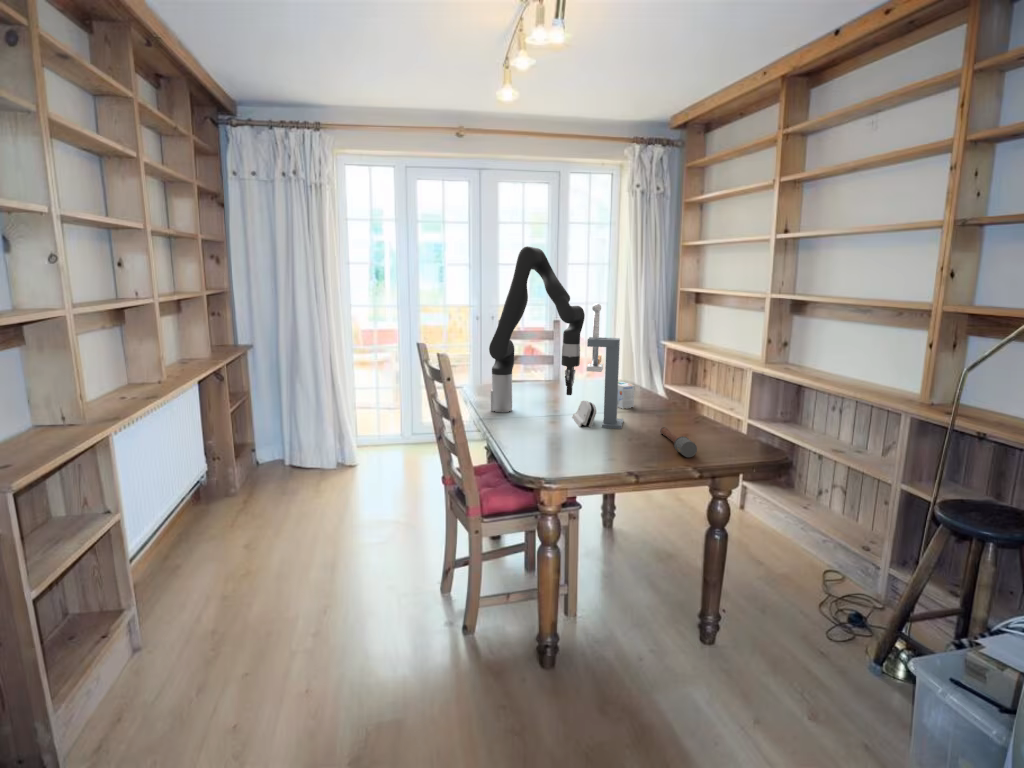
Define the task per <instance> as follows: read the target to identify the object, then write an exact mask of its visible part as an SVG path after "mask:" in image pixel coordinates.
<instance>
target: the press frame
mask: <svg viewBox="0 0 1024 768" xmlns="http://www.w3.org/2000/svg"><path fill="white" fill-rule="evenodd" d="M620 340H621V339H620V337H600V336H599V339H593V336H589V337H588V338H587V347H589V348H591V347H592V348H593V347H599V348H605V369H604V370H605V372H604V374H605V375H604V376H605V378H604V399H603V400H604V403H603V420H602V423H601V428H602V429H614V428H615V429H617V430H622V428H623V425H624V419H623V418H617V417H618V407H617V399H618V382H619V374H620V373H619V368H620V366H619V364H620V347H621V346H620V344H621V342H620ZM615 429H614V430H615Z"/></svg>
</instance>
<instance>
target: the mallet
mask: <svg viewBox="0 0 1024 768" xmlns="http://www.w3.org/2000/svg"><path fill="white" fill-rule="evenodd" d="M659 433H660V434H661V435H662V434H663V436H664V437H667V439H669V440H670V441H671V442H673V447H674V450H675V451H676V452H677V453H680V454H681V455H682V456H684V457H685V458H692V457H694V456H695V455H696V454H697V452H698V446H697V445H696V443H695V442H693V441H692V440H690V438H689V437H687V436H683V435H682V436H679V437H678V436H677V435H675V434H674V433H672V432H671V431H670V430H669V429H668V428H667V427H666V426H665V427H661V429H660V430H659Z"/></svg>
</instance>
